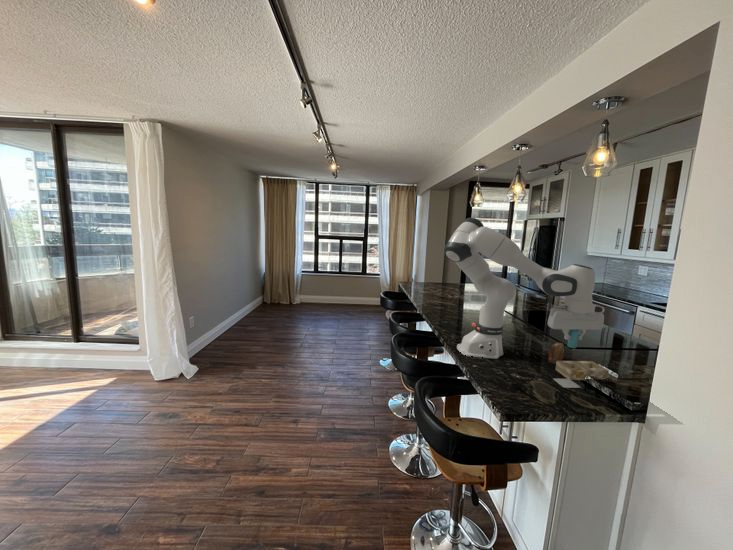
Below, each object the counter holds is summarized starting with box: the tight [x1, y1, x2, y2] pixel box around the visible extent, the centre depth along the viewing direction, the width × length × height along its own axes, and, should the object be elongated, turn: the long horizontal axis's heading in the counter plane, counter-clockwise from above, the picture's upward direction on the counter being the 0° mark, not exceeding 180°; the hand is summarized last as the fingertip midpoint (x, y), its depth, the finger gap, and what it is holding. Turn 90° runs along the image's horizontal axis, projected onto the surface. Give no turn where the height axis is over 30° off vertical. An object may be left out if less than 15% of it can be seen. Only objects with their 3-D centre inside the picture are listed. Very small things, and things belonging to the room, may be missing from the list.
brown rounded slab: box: [547, 342, 566, 365], centre depth 143 cm, size 15×3×8 cm, turn 130°
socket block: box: [555, 360, 610, 381], centre depth 128 cm, size 16×9×5 cm, turn 91°
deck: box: [553, 378, 582, 389], centre depth 121 cm, size 7×7×1 cm
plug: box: [567, 329, 579, 349], centre depth 119 cm, size 3×3×8 cm
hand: (572, 339), depth 119 cm, fingers closed on plug, 3 cm apart
